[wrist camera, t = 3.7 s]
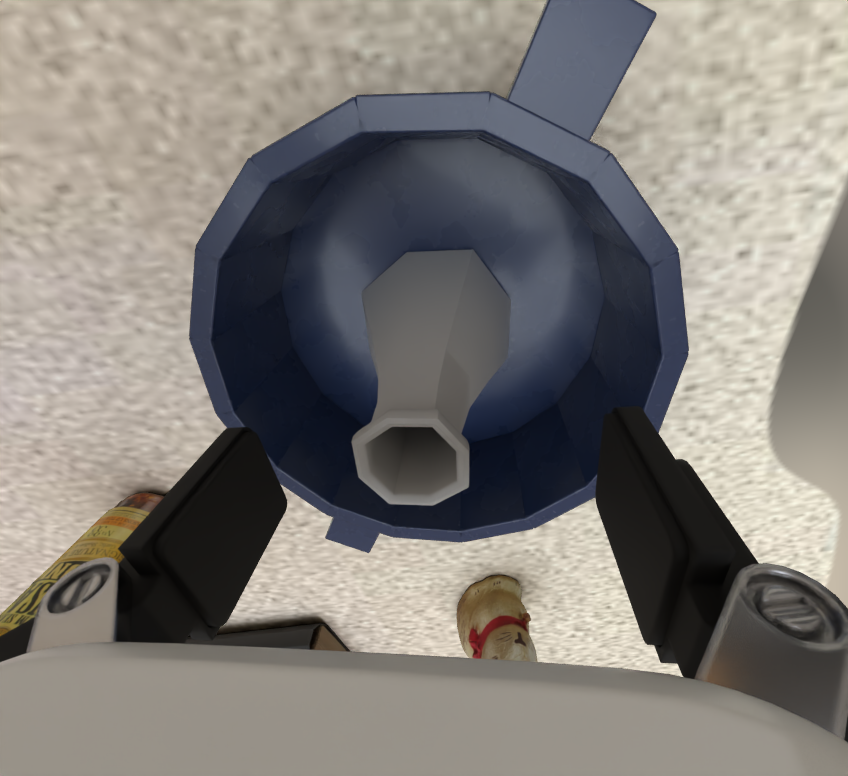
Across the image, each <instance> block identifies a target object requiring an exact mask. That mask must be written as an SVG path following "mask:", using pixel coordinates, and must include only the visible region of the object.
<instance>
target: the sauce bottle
mask: <svg viewBox="0 0 848 776" xmlns="http://www.w3.org/2000/svg"><path fill="white" fill-rule="evenodd" d="M163 498H164V496H162V495H156V494H154V493H147V492H145V493H138V494H135V495H132V496H130V497H127V498H126V499H125V500H123V501H121V502H120V503H118V505H117V506H116V507H114V508H112V509H110V510H109V511H108V512H106V513H105V514H104V515H103V516H102V517H101V518H100V519H99V520H98V521H97V522H96V523H95V524H94V525H93V526H92V527H91V528H90V529H89V530H88V531H87V532H86V533H85V534H84V535H82V536H81V537H80V538H79V539H78V540H77V541H76V542H75V543H74V544H73V545H72V546H71V547H70V548H69V549H68V550H67V551H66V552H65V553H64V554H63V555H62V556H61V557H60V558H59V559H58V560H57V561H56V562H55V563H54V564H53V565H52V566H51V567H50V568H48V569H47V570H46V571H45V572H44V573H43V574H42V575H41V576H40V577H39V578H38V579H37V580H35V581H34V582H33V583H32V585H31V586H30V587H29V588H28V589H27V590H26V591H25V592H24V593H23V594H21V595H20V596H19V597H18V598H17V599H16V600H15V601H14V602H13V603H12V604H11V605H10V606H9V607H8V608H7V609H6V610H5V611H4V612H3V613H2V614H1V615H0V636H1V635H3V634H5V633H7V632H8V631H10V630H12V629H14V628H16V627H17V626H19V625H21V624H23V623H25V622H27V621H28V620H30V619H32V618H34V617H35V616H36V612H37V608H38V606H39V604H40V602H41V599H42V598H43V597H44V595H45V594H46V593H47V591H48V590H49V589H50V588H51V587H52V586H53V585H54V584H55V583H56V582H57V581H58V580H59V579H60V578H62V577H63V576H64V575H66V574H67V573H69V572H70V571H71V570H73V569H75V568H76V567H78V566H80V565H82V564H84V563H86V562H89V561H91V560H94V559H98V558H103V557H108V558H113V559H114V560H116V561H117V562H118V563H120V562H121V560H122V559H123V558H124V556H123V555H122V553H121V552H120V551H119V550H118V548H119V547H120V545H121V544H122V543H123V542H124V541H125V540H126V539H127V538H128V537H129V536H130V534H131V533H132V532H133V531H134V530H135V529H136V528H137V527H138V526H139V524H140V523H141V522H142V521H143V520H144V519H145V518H146V517H147V516H148V514H149V513H150V512H151V511H152V510H153V509H154V508H155V507H156V506H157V504H158V503H159V502H160V501H161V500H162V499H163Z"/></svg>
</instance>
